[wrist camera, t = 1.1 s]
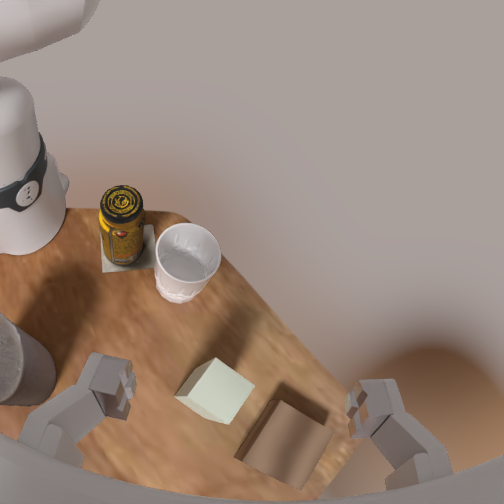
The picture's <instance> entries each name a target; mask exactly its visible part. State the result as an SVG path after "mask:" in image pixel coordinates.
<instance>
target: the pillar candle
mask: <svg viewBox="0 0 504 504" xmlns="http://www.w3.org/2000/svg"><path fill="white" fill-rule="evenodd" d="M55 383H56V368H55V364H54V361H53V358H52V357H51V355H50V353H49V351H48V350H47V349H46V348H45V347H44V346H43V345H42V344H41V343H40V342H38V341H37V340H35V339H34V338H33V337H31V336H30V335H29V334H27V333H26V332H24V331H23V330H22V329H20V328H19V327H18V326H16V325H15V324H14V323H12V322H11V321H10V320H9V319H8V318H6V317H5V316H4V315H3V314H2V313H0V405H9V406H15V405H17V406H18V405H19V406H32V405H40V404H41V403H43V402H45V401H46V400H47V399H48V398H49V397H50V395H51V394H52V392H53V390H54V387H55Z"/></svg>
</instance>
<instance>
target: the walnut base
mask: <svg viewBox="0 0 504 504" xmlns="http://www.w3.org/2000/svg"><path fill="white" fill-rule="evenodd" d="M333 434H334V432H333V431H331V430H330V429H328V428H326V427H324V426H323V425H321V424H319V423H318V422H316V421H314V420H313V419H311V418H309V417H308V416H306V415H304V414H303V413H301V412H299V411H298V410H296V409H294V408H293V407H291V406H290V405H288V404H286V403H285V402H283V401H282V400H271V401H270V402H269V403H268V405H267V407H266V408H265V410H264V411H263V413H262V415H261V416H260V418H259V419H258V421H257V423H256V424H255V426H254V427H253V429H252V430H251V432H250V433H249V435H248V436H247V438H246V439H245V441H244V442H243V444H242V445H241V447H240V448H239V450H238V451H237V453H236V454H235V456H234V458H236V459H238V460H240V461H242V462H243V463H245V464H247V465H249V466H251V467H253V468H255V469H257V470H259V471H261V472H263V473H265V474H267V475H269V476H271V477H273V478H275V479H277V480H279V481H281V482H283V483H285V484H287V485H290V486H292V487H294V488H296V489H299V490H302V488H303V487H304V485H305V483H306V482H307V480H308V478H309V477H310V475H311V473H312V472H313V470H314V468H315V467H316V465H317V463H318V461H319V460H320V458H321V456H322V454H323V453H324V451H325V449H326V447H327V445H328V443H329V441H330V440H331V438H332V436H333Z"/></svg>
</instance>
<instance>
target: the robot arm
mask: <svg viewBox="0 0 504 504" xmlns="http://www.w3.org/2000/svg"><path fill="white" fill-rule="evenodd" d="M99 1H100V0H0V62H2V61H5V60H8V59H11V58H14V57H17V56H20V55H23V54H27V53H30V52H33V51H37V50H39V49H41V48H44V47H46V46H48V45H51V44H53V43H55V42H58V41H60V40H62V39H64V38H67V37H69V36H72V35H74V34H77V33H79V32H80V31H81V30H82V29H83V28H84V26H85V25H86V24H87V23H88V22H89V20H90V19H91V17H92V16H93V14H94V12H95V10H96V8H97V6H98V4H99ZM68 186H69V180H68V178H67V176H65V175H64V174H62V173H60V172H59V170H58V167H57V163H56V160H55V158H54V156H53V155H50V154H48V153H47V152H46V147H45V144H44V141H43V138H42V136H41V134H40V133H39V132H38V127H37V121H36V115H35V109H34V102H33V98H32V95H31V94H30V92H29V91H28V89H27V88H26V87H25V86H24V85H22V84H21V83H20V82H18V81H17V80H15V79H11V78H7V77H0V253H7V254H12V255H24V254H29V253H32V252H34V251H37V250H39V249H40V248H42V247H43V246H45V245H46V244H47V243H48V242H50V241H51V240H52V239H53V237H54V236H55V235H56V234H57V232H58V231H59V229H60V227H61V225H62V223H63V220H64V217H65V211H66V203H65V194H66V192H67V189H68ZM132 367H133V365H132V362H131V361H130V360H126V359H121V358H117V357H112V356H108V355H104V354H100V353H95V352H92V353H91V354H90V356H89V358H88V360H87V362H86V364H85V366H84V368H83V371H82V373H81V375H80V377H79V379H78V382H77V384H76V386H75V385H71V386H70V387H68V388H67V389H65V390H64V391H62V392H61V393H59V394H58V395H56V396H55V397H53V398H52V399H51V400H49V401H48V402H46V403H45V404H43V405H42V406H40V407H39V408H37V409H36V410H34V411H33V412H31V413H30V414H29V415H28V417H27V420H26V422H25V424H24V426H23V429H22V431H21V433H20V436H19V438H18V441H16V440H14V439H12V438H10V437H8V436H6V435H4V434H2V433H0V504H504V455H502V456H499V457H497V458H494V459H492V460H490V461H487V462H485V463H482V464H479V465H477V466H474V467H472V468H469V469H466V470H463V471H460V472H457V473H454V474H453V471H452V467H451V464H450V460H449V457H448V453H447V450H446V447H445V446H444V445H443V444H442V443H441V442H440V441H439V440H438V439H436V438H435V437H434V436H433V435H432V434H431V433H430V432H429V431H428V430H427V429H426V428H425V427H423V426H422V425H421V424H420V423H419V422H418V421H417V420H416V419H415V418H414V417H413V416H412V415H411V414H410V413H406V412H405V409H404V406H403V402H402V399H401V396H400V393H399V390H398V387H397V384H396V381H395V380H394V379H372V380H357V381H356V382H355V383H354V385H353V387H354V390H352V391H350V392H349V393H348V395H347V397H346V402H345V410H346V415H347V416H348V417H349V418H350V419H351V420H350V422H349V423H348V428H349V433H350V439H355V438H370V439H371V440H372V441H373V443H374V444H375V445H376V447H377V448H378V449H379V450H380V452H381V453H382V454H383V455H384V457H385V458H386V459H387V460H388V461H389V463H390V464H391V465H392V467H393V468H394V469H395V471H394V472H393V473H391V474H390V475H388V476H387V477H386V478H385V484H386V491H383V492H377V493H371V494H364V495H357V496H350V497H341V498H332V499H319V500H300V501H253V500H235V499H222V498H212V497H203V496H196V495H189V494H182V493H176V492H170V491H165V490H160V489H155V488H150V487H145V486H141V485H137V484H133V483H129V482H125V481H121V480H117V479H114V478H110V477H107V476H104V475H100V474H97V473H94V472H91V471H88V470H85V469H82V464H83V461H84V455H83V453H82V452H81V451H80V450H79V449H78V448H77V446H76V444H77V443H78V442H79V441H80V440H81V439H82V438H83V437H84V436H86V435H87V434H88V433H89V432H90V431H91V430H92V429H93V428H94V427H96V426H97V425H98V424H99V423H100V422H101V421H102V420H103V419H104V418H105V416H108V417H112V418H116V419H121V420H125V421H126V420H127V416H128V413H129V410H130V407H131V406H130V403H129V401H128V400H130V399H131V398H132V397H134V393H135V389H136V376H135V373H134V372H133V371H132Z"/></svg>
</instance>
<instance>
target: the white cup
mask: <svg viewBox="0 0 504 504" xmlns="http://www.w3.org/2000/svg"><path fill="white" fill-rule="evenodd" d="M220 262H221V249H220V246H219V243H218V241H217V240H216V238H215V237H214V236H213V235H212V233H210V232H209V231H208V230H207V229H205V228H203V227H202V226H199V225H196V224H192V223H179V224H175V225H173V226H171V227H169V228H167V229H166V230H165V231H164V232H163V233H162V234H161V235H160V237H159V239H158V241H157V244H156V254H155V280H156V288H157V289H158V291H159V293H160V294H161V296H162V297H164V298H165V299H167V300H168V301H170V302H174V303H180V304H181V303H184V302H188V301H191V300H192V299H193V298H194V297H195V296H196V295H197V294H198V293H199V292H200V291H201V290H202V289H203V288H204V286H205V285H206V284H207V283H208V281H209V280H210V279H211V277H212V276H213V275H214V274H215V272H216V271H217V269H218V267H219V265H220Z"/></svg>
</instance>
